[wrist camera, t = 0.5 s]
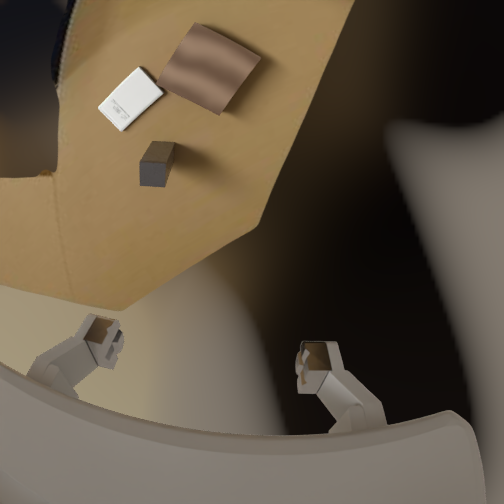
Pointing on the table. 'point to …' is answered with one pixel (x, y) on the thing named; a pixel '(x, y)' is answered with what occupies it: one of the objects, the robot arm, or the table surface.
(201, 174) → the table surface
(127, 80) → the external hard drive
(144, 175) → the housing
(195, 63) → the stand
